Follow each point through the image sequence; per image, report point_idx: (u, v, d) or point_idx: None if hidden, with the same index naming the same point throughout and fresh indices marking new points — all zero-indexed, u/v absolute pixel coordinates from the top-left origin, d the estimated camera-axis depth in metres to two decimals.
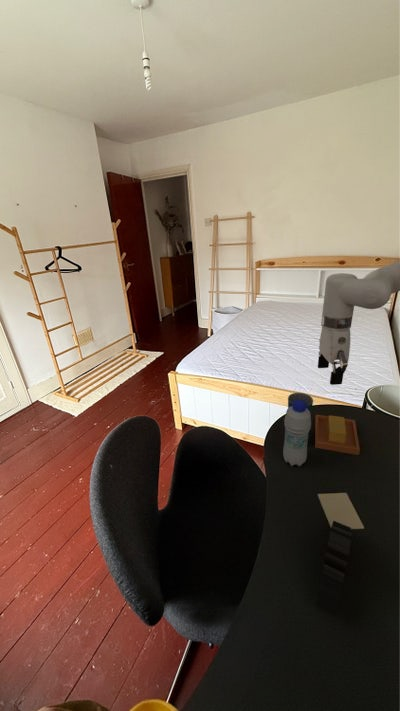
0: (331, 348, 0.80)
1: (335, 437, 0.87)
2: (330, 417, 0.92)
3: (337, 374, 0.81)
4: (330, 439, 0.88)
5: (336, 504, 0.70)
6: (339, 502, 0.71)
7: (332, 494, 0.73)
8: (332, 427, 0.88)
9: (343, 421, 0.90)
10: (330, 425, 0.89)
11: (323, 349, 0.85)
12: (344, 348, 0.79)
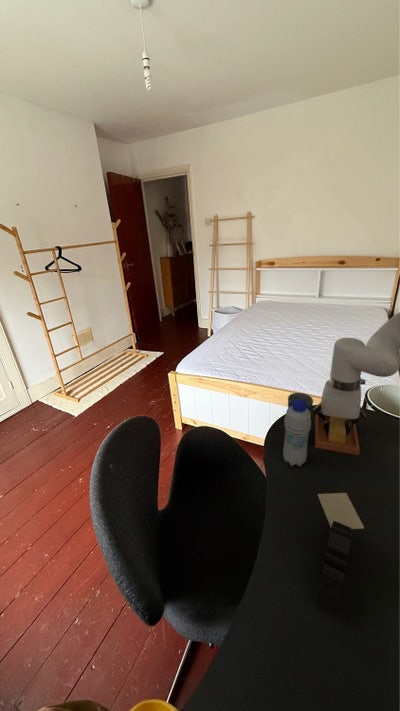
0: (357, 406, 0.82)
1: (335, 437, 0.87)
2: (330, 417, 0.92)
3: None
4: (330, 439, 0.88)
5: (336, 504, 0.70)
6: (339, 502, 0.71)
7: (332, 494, 0.73)
8: (332, 427, 0.88)
9: (343, 421, 0.90)
10: (330, 425, 0.89)
11: (337, 411, 0.85)
12: None
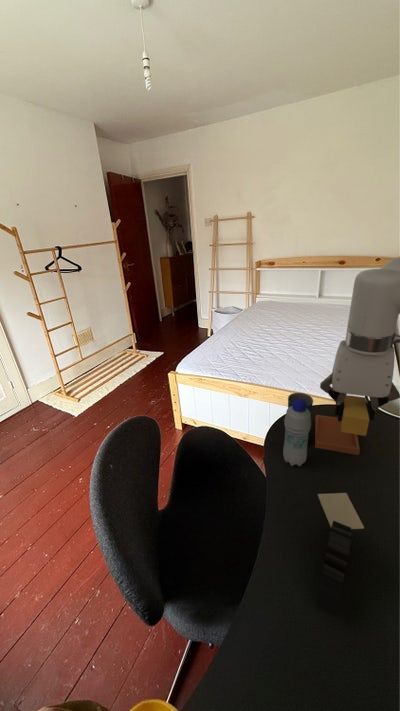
0: (388, 377, 0.54)
1: (353, 425, 0.59)
2: (345, 397, 0.64)
3: None
4: (345, 428, 0.59)
5: (336, 504, 0.70)
6: (339, 502, 0.71)
7: (332, 494, 0.73)
8: (347, 410, 0.60)
9: (364, 402, 0.62)
10: (345, 408, 0.61)
11: (357, 385, 0.57)
12: None
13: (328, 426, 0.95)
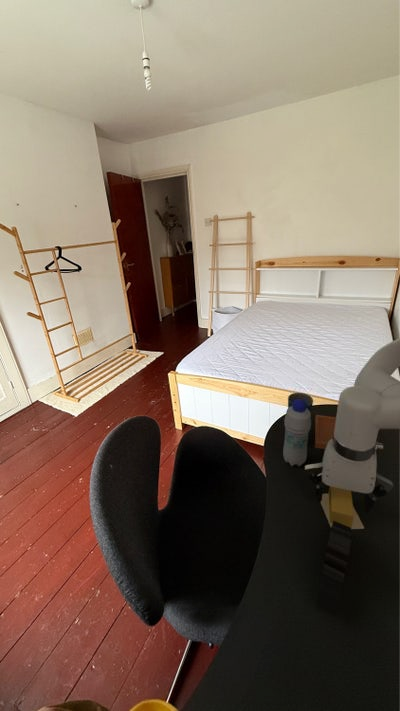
0: (371, 478, 0.60)
1: (340, 518, 0.65)
2: None
3: None
4: (332, 520, 0.66)
5: None
6: None
7: None
8: (334, 503, 0.66)
9: (349, 493, 0.68)
10: (332, 500, 0.67)
11: (344, 483, 0.62)
12: None
13: (328, 426, 0.95)
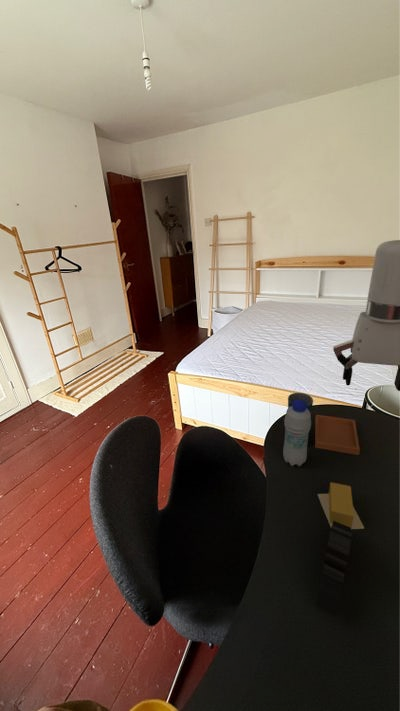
0: None
1: (340, 518, 0.65)
2: (332, 486, 0.70)
3: None
4: (332, 520, 0.66)
5: None
6: None
7: None
8: (334, 503, 0.66)
9: (349, 493, 0.68)
10: (332, 500, 0.67)
11: (377, 354, 0.59)
12: None
13: (328, 426, 0.95)
